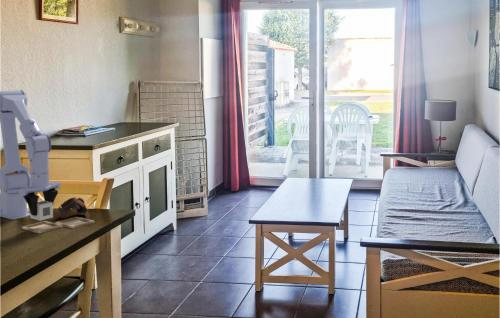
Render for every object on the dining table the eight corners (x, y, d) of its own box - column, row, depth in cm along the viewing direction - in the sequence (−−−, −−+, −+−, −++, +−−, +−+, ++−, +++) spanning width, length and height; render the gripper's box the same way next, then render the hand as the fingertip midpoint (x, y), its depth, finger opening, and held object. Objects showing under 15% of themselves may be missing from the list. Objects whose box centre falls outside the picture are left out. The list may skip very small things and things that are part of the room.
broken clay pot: (87, 222, 215) (74, 203, 212) (64, 233, 217) (51, 214, 214) (96, 206, 226) (84, 187, 223) (74, 216, 228) (62, 198, 225)
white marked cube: (30, 218, 204) (29, 202, 203) (43, 214, 208) (42, 199, 207) (40, 220, 201) (39, 205, 200) (53, 217, 205) (52, 202, 204)
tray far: (55, 225, 210) (55, 222, 209) (76, 219, 217) (76, 216, 217) (73, 229, 204) (72, 226, 204) (94, 223, 212) (94, 220, 212)
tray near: (21, 229, 204) (21, 226, 204) (45, 223, 211) (44, 221, 211) (39, 234, 199) (39, 231, 198) (62, 228, 206) (62, 225, 206)
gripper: (28, 177, 194) (30, 220, 196) (66, 170, 205) (67, 210, 208) (14, 174, 198) (16, 216, 200) (52, 168, 209) (53, 207, 212)
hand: (41, 213), depth 204 cm, fingers closed on white marked cube, 5 cm apart
